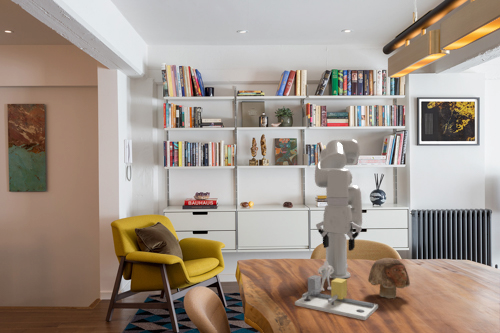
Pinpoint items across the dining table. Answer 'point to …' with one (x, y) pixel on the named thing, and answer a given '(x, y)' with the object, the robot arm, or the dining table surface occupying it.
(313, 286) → the rail
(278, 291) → the dining table surface
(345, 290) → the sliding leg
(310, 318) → the dining table surface
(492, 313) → the dining table surface
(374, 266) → the sculpture
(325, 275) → the figurine
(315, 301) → the hole plate
